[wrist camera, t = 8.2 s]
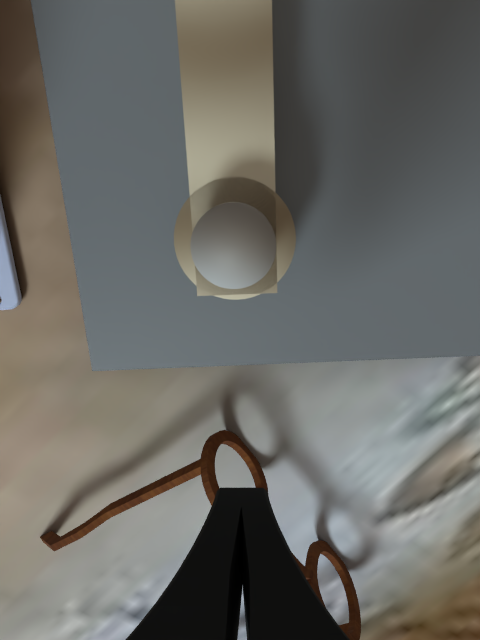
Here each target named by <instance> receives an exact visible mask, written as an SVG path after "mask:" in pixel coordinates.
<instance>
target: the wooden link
mask: <svg viewBox="0 0 480 640" xmlns="http://www.w3.org/2000/svg"><path fill="white" fill-rule="evenodd" d="M175 9H176V22H177V35H178V48H179V61H180V75H181V88H182V101H183V114H184V127H185V140H186V154H187V167H188V180H189V193H190V197H189V198H188V199H187V200H186V202H185V203H184V204H183V206H182V208H181V210H180V212H179V214H178V217H177V220H176V224H175V229H174V247H175V252H176V256H177V259H178V261H179V264H180V266H181V268H182V269H183V271H184V273H185V274H186V275H187V277H188V278H189V279H190V280H191V281H192V282H193V283H194V284H195V285H196V286H197V296H216V297H219V298H223V299H230V300H240V299H247V298H251V297H254V296H257V295H260V294H265V293H277V282H278V281H279V280H280V279H281V278H282V277H283V276H284V274H285V273H286V271H287V270H288V268H289V266H290V264H291V261H292V258H293V255H294V251H295V245H296V233H295V226H294V222H293V219H292V216H291V213H290V211H289V209H288V207H287V206H286V204H285V203H284V201H283V200H282V199H281V198H280V197H279V196H278V194H277V193H275V139H274V85H273V32H272V0H175Z"/></svg>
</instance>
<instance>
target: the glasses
mask: <svg viewBox="0 0 480 640" xmlns="http://www.w3.org/2000/svg"><path fill="white" fill-rule="evenodd" d="M221 444H226V445H228V446H230V447H232V448H233V449H234V450H235V451H237V453H238V454H239V455H240V456H241V457H242V458H243V460H244V461H245V463H246V464H247V466H248V467H249V469H250V471H251V473H252V476H253V479H254V482H255V486H256V488H264V489H265V490H266V491H267V492H268V488H267V483H266V479H265V476H264V473H263V471H262V468H261V466H260V464H259V462H258V460H257V459H256V457H255V456H254V455H253V454H252V453H251V452H250V450H249V449H248V448H247V447H246V446H245V444H244V443H243V442H242V441H241V440H240V438H239V437H238V436H237V435H235V434H234V433H232V432H230V431H226V430H222V431H219V432H217V433H215V434H213V435H211V436H210V437H209V438H208V439H207V441H206V443H205V445H204V447H203V450H202V454H201V459H199V460H197V461H195V462H193V463H191V464H189V465H187V466H185V467H183V468H181V469H179V470H177V471H175V472H173V473H171V474H169V475H167V476H165V477H163V478H161V479H159V480H157V481H155V482H153V483H151V484H149V485H147V486H145V487H143V488H141V489H139V490H137V491H135V492H133V493H131V494H129V495H127V496H125V497H123V498H121V499H119V500H117V501H115V502H113V503H111V504H109V505H108V506H107V507H105V508H104V509H103V510H101V511H100V512H99V513H97V514H96V515H94V516H93V517H92V518H90V519H89V520H88V521H86V522H85V523H83V524H82V525H80V526H78V527H77V528H75V529H73V530H71V531H70V532H68V533H66V534H65V535H63V536H61V537H60V536H58V535H57V534H55V533H54V532H53V531H50V532H48V533H47V534H45V535H43V536H41V537H40V538H41V540H42V541H43V542H44V543H45V544H46V545H47V546H48V547H50V548H51V549H52V550H53V551H56V550H58V549H60V548H62V547H64V546H66V545H68V544H70V543H72V542H74V541H76V540H78V539H80V538H82V537H83V536H85V535H86V534H88V533H89V532H91V531H92V530H93V529H95V528H96V527H98V526H99V525H101V524H102V523H103V522H105V521H106V520H108V519H109V518H111V517H113V516H115V515H117V514H119V513H121V512H123V511H125V510H127V509H130V508H132V507H134V506H136V505H138V504H140V503H142V502H144V501H146V500H148V499H150V498H153V497H155V496H157V495H159V494H161V493H163V492H165V491H167V490H169V489H171V488H173V487H175V486H178V485H180V484H182V483H184V482H186V481H188V480H190V479H192V478H194V477H196V476H198V475H201V477H202V482H203V486H204V489H205V492H206V495H207V497H208V499H209V501H210V503H211V505H212V504H213V502H214V499H215V496H216V492H217V491H218V490H219V486H218V483H217V480H216V475H215V456H216V452H217V449H218V447H219V446H220V445H221ZM291 553H292V552H291ZM292 554H293V553H292ZM320 554H323V555H324V556H325V557H327V558H328V559H329V560H330V562H331V563H332V564H333V566H334V567H335V569H336V570H337V572H338V574H339V576H340V578H341V580H342V583H343V585H344V589H345V592H346V596H347V600H348V606H349V623H347V624H343V625H339V627H340V628H341V629H342V630H343V632H344V633H345V634H346V635H347V637H348V638H349V639H350V640H359V639H360V633H361V618H360V609H359V603H358V598H357V594H356V590H355V587H354V584H353V581H352V579H351V576H350V574H349V572H348V570H347V568H346V566H345V564H344V562H343V561H342V560H341V559H340V557H339V556H338V555H337V554H336V553H335V552H334V550H333V549H332V548H331V547H330V546H329V544H328V543H327V542H325V541H322V540H321V541H316V542H313V543H312V544H311V545H310V547H309V549H308V552H307V558H306V565H305V566H304V565H303V564H301V563H300V561H299V560H298V559H297V558H296V557H295V556H294V555H293V556H294V558H295V560H296V562H297V564H298V565H299V567H300V569H301V571H302V572H303V574H304V576H305V577H306V579H307V581H308V582H309V584H310V585H311V587H312V589H313V590H314V592H315V593H316V595H317V596H318V598H319V599H320V601H321V602H322V604H323V605H324V602H323V600H322V597H321V594H320V590H319V586H318V579H317V565H318V559H319V556H320ZM324 606H325V605H324Z"/></svg>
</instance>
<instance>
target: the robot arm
mask: <svg viewBox="0 0 480 640" xmlns="http://www.w3.org/2000/svg"><path fill="white" fill-rule="evenodd" d="M0 297H1V299H2V302H1V303H0V310H8V309H13V308H15V307H17V306H18V305H20V303H21V301H22V300H21V292H20V287H19V282H18V278H17V273H16V268H15V263H14V258H13V253H12V249H11V244H10V239H9V234H8V229H7V225H6V220H5V215H4V210H3V205H2V201H1V196H0ZM242 585H243V594H244V606H245V619H246V631H247V640H350V639H349V638H348V637H347V635H346V634H345V633H344V632H343V630H342V629H341V628H340V627H339V625H338V624H337V623H336V622H335V620H334V619H333V618H332V616H331V615H330V613H329V612H328V611H327V609H326V608H325V606H324V605H323V604H322V602H321V601H320V599H319V598H318V596H317V595H316V593H315V592H314V590H313V589H312V587H311V585H310V584H309V582H308V581H307V579H306V577H305V576H304V574H303V572H302V571H301V569H300V567H299V565H298V564H297V562H296V560H295V558H294V556H293V554H292V553H291V551H290V549H289V547H288V545H287V543H286V540H285V538H284V536H283V534H282V532H281V530H280V528H279V525H278V523H277V521H276V518H275V516H274V513H273V510H272V507H271V504H270V501H269V497H268V492H267V491H266V490H265V489H264V488H220V489H219V490H218V491H217V492H216V496H215V499H214V502H213V504H212V507H211V509H210V512H209V514H208V516H207V519H206V521H205V523H204V525H203V527H202V529H201V531H200V533H199V535H198V537H197V539H196V541H195V543H194V545H193V546H192V548H191V550H190V552H189V553H188V555H187V557H186V558H185V560H184V562H183V563H182V565H181V567H180V568H179V570H178V572H177V573H176V575H175V576H174V578H173V579H172V581H171V582H170V584H169V585H168V587H167V588H166V589H165V591H164V592H163V594H162V595H161V596H160V598H159V599H158V601H157V602H156V603H155V605H154V606H153V607H152V608H151V610H150V611H149V612H148V613H147V615H146V616H145V617H144V619H143V620H142V621H141V622H140V624H139V625H138V626H137V627H136V628H135V630H134V631H133V632H132V633H131V634H130V635H129V636H128V638H127V639H126V640H237V636H238V626H239V616H240V606H241V595H242Z"/></svg>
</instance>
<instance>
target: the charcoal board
mask: <svg viewBox="0 0 480 640" xmlns="http://www.w3.org/2000/svg"><path fill="white" fill-rule="evenodd" d="M31 4H32V10H33V16H34V23H35V29H36V35H37V41H38V47H39V53H40V59H41V65H42V71H43V77H44V83H45V89H46V95H47V101H48V107H49V113H50V119H51V125H52V131H53V137H54V143H55V149H56V155H57V161H58V167H59V173H60V179H61V185H62V191H63V197H64V203H65V209H66V215H67V221H68V227H69V233H70V239H71V245H72V251H73V257H74V263H75V269H76V275H77V281H78V287H79V293H80V299H81V305H82V311H83V317H84V323H85V329H86V335H87V341H88V347H89V353H90V360H91V366H92V371H104V370H129V369H154V368H180V367H205V366H230V365H255V364H280V363H305V362H331V361H356V360H381V359H406V358H431V357H457V356H480V0H272V32H273V85H274V139H275V193H277V194H278V196H279V197H280V198H281V199H282V200H283V201H284V203H285V204H286V206H287V207H288V209H289V211H290V213H291V216H292V219H293V222H294V226H295V233H296V245H295V251H294V255H293V258H292V261H291V264H290V266H289V268H288V270H287V271H286V273H285V274H284V276H283V277H282V278H281V279H280V280H279V281H278V282H277V293H265V294H260V295H257V296H254V297H251V298H247V299H240V300H230V299H223V298H219V297H216V296H197V286H196V285H195V284H194V283H193V282H192V281H191V280H190V279H189V278H188V277H187V275H186V274H185V273H184V271H183V269H182V268H181V266H180V264H179V261H178V259H177V256H176V252H175V247H174V229H175V224H176V220H177V217H178V214H179V212H180V210H181V208H182V206H183V204H184V203H185V202H186V200H187V199H188V198H189V197H190V193H189V180H188V167H187V154H186V140H185V127H184V114H183V101H182V88H181V75H180V61H179V48H178V35H177V22H176V9H175V0H31Z"/></svg>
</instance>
